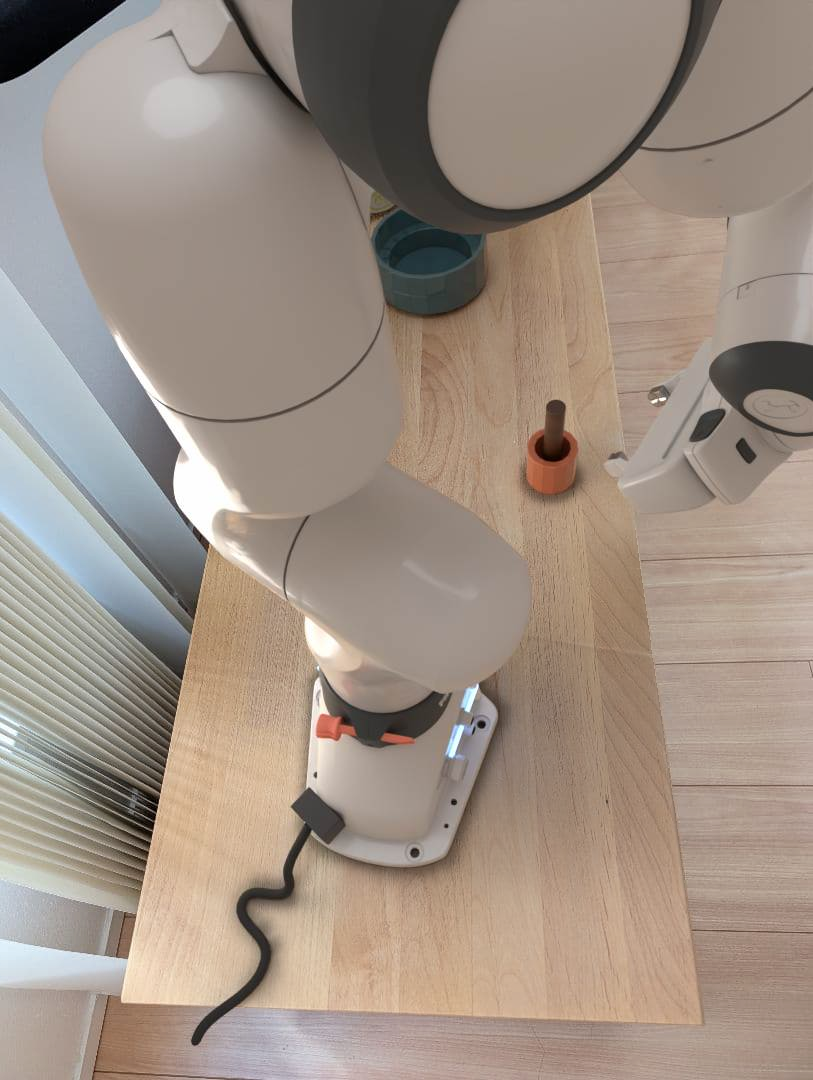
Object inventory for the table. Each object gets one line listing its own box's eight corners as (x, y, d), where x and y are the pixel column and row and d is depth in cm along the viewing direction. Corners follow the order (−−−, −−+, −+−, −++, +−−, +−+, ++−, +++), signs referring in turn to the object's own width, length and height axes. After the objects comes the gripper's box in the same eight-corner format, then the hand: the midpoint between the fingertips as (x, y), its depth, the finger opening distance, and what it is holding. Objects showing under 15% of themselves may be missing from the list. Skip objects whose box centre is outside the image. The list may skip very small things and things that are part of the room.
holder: (571, 500, 88) (575, 470, 83) (522, 495, 89) (523, 464, 84) (576, 461, 91) (581, 430, 85) (529, 456, 92) (530, 425, 87)
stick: (558, 482, 89) (564, 415, 78) (540, 480, 89) (544, 413, 79) (560, 468, 89) (567, 400, 79) (542, 466, 90) (547, 398, 80)
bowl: (477, 322, 103) (475, 281, 97) (367, 314, 106) (358, 274, 100) (495, 244, 110) (494, 201, 104) (391, 239, 113) (384, 197, 107)
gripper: (789, 290, 66) (660, 334, 78) (689, 464, 58) (563, 484, 70) (824, 345, 68) (694, 380, 80) (732, 520, 61) (604, 530, 73)
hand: (632, 430), depth 75 cm, fingers open, 8 cm apart
